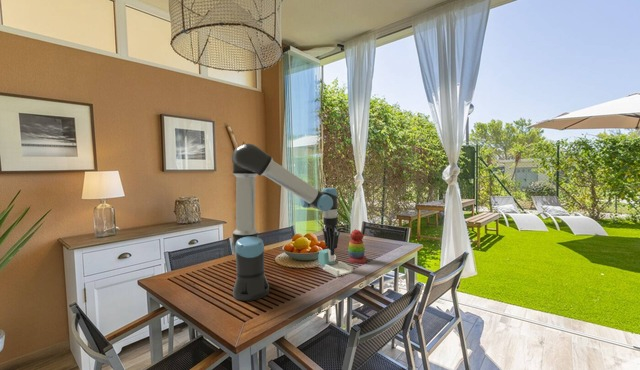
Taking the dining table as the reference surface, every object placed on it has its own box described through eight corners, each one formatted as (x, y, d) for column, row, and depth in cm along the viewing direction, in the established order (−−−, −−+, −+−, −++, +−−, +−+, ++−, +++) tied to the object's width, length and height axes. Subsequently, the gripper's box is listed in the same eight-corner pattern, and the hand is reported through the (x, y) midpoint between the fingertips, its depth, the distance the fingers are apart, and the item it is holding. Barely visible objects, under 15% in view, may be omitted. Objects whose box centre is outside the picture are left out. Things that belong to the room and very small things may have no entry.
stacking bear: (366, 264, 157) (365, 232, 156) (347, 263, 159) (347, 231, 158) (366, 257, 168) (365, 228, 167) (349, 257, 170) (348, 227, 169)
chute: (337, 276, 140) (337, 270, 139) (315, 265, 156) (315, 260, 156) (353, 272, 145) (353, 266, 145) (330, 262, 162) (330, 256, 162)
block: (324, 266, 152) (324, 253, 152) (318, 263, 157) (318, 250, 157) (333, 263, 156) (333, 251, 155) (327, 261, 161) (327, 248, 160)
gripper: (343, 217, 147) (344, 262, 149) (329, 214, 158) (330, 256, 160) (331, 219, 143) (332, 265, 145) (317, 216, 154) (318, 259, 155)
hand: (331, 260), depth 152 cm, fingers closed
